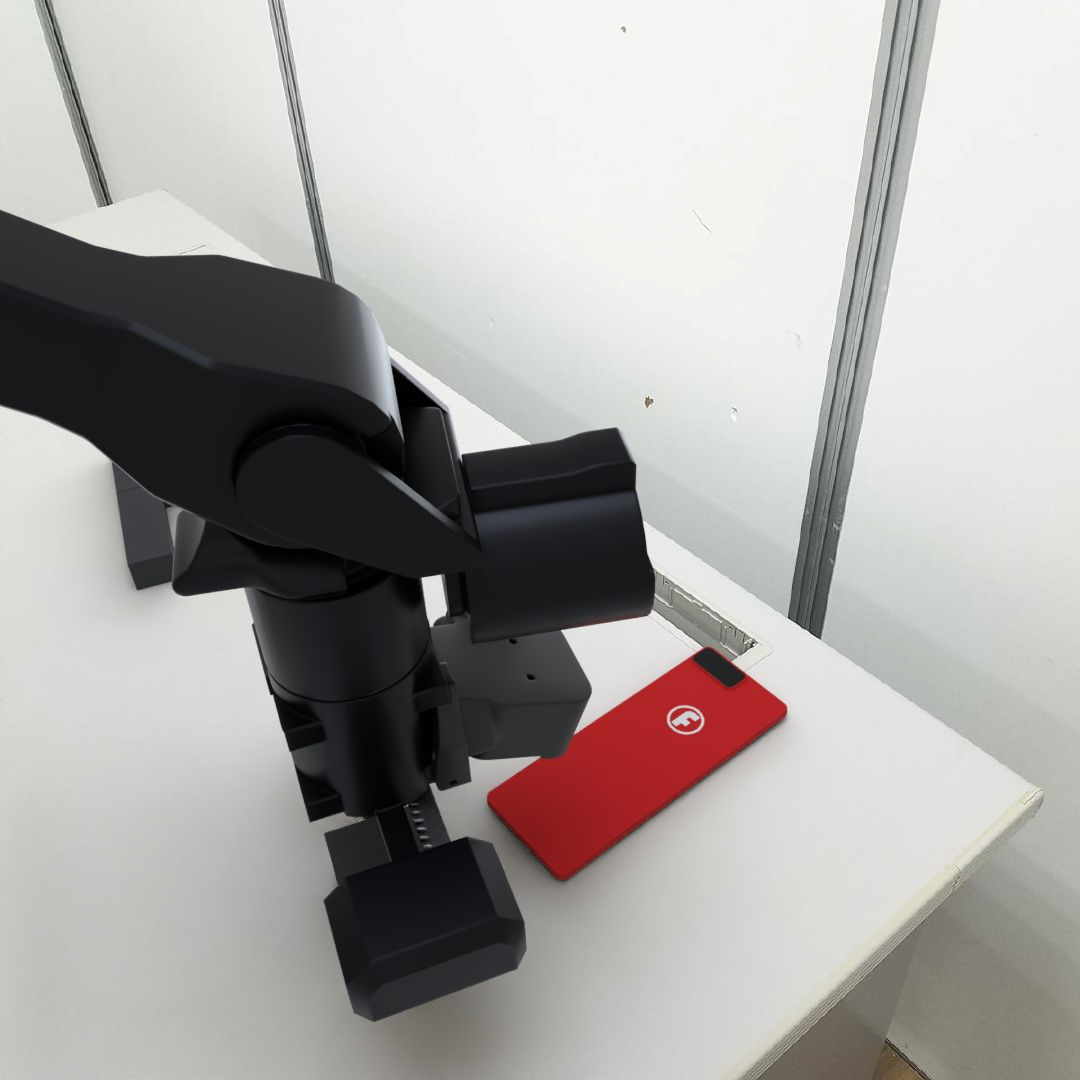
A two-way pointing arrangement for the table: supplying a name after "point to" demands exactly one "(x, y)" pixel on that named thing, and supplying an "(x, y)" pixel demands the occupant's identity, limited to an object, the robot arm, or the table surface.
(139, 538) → the dark gray pronged block
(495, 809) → the electronic device
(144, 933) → the table surface
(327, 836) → the black block
